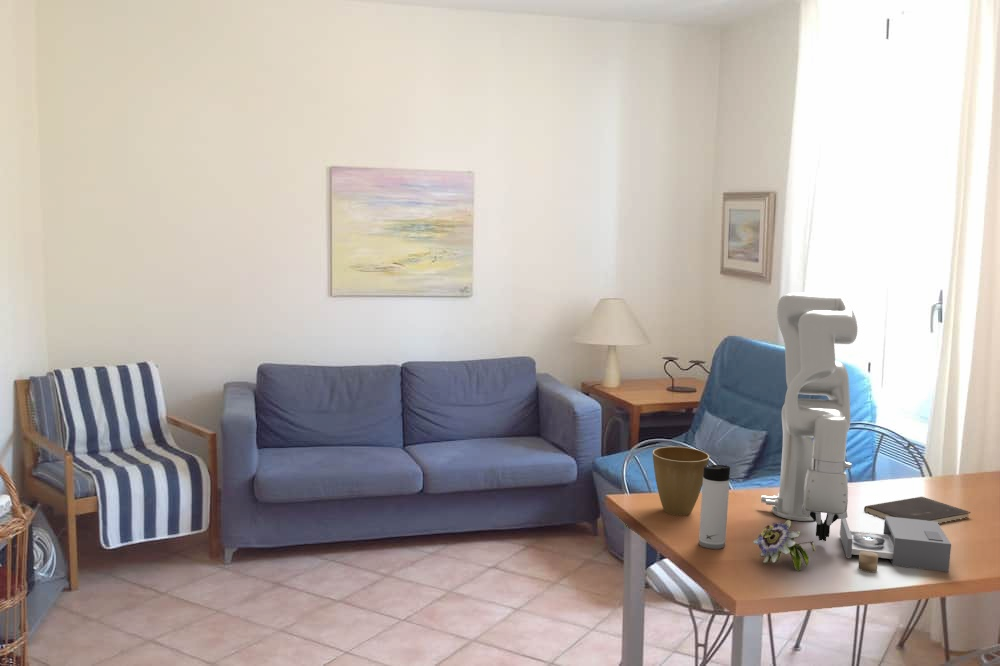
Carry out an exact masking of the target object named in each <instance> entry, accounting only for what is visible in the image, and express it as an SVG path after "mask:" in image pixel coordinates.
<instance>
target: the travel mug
mask: <svg viewBox="0 0 1000 666" xmlns="http://www.w3.org/2000/svg"><path fill="white" fill-rule="evenodd" d="M703 473H704V474H703V484H702V488H701V501H700V502H701V503H700V504H701V505H700V518H699V519H700V520H699V533H698V535H699V536H698V545H699V546H700V547H703V548H706V549H709V550H710V549H711V550H721V549H723V548H725V547H726V539H727V538H726V537H727V523H728V522H727V521H728V507H729V494H730V476H731V475H730V473H731V467H730V466H728V465H723V464H712V465H709V466H704V472H703Z"/></svg>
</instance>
